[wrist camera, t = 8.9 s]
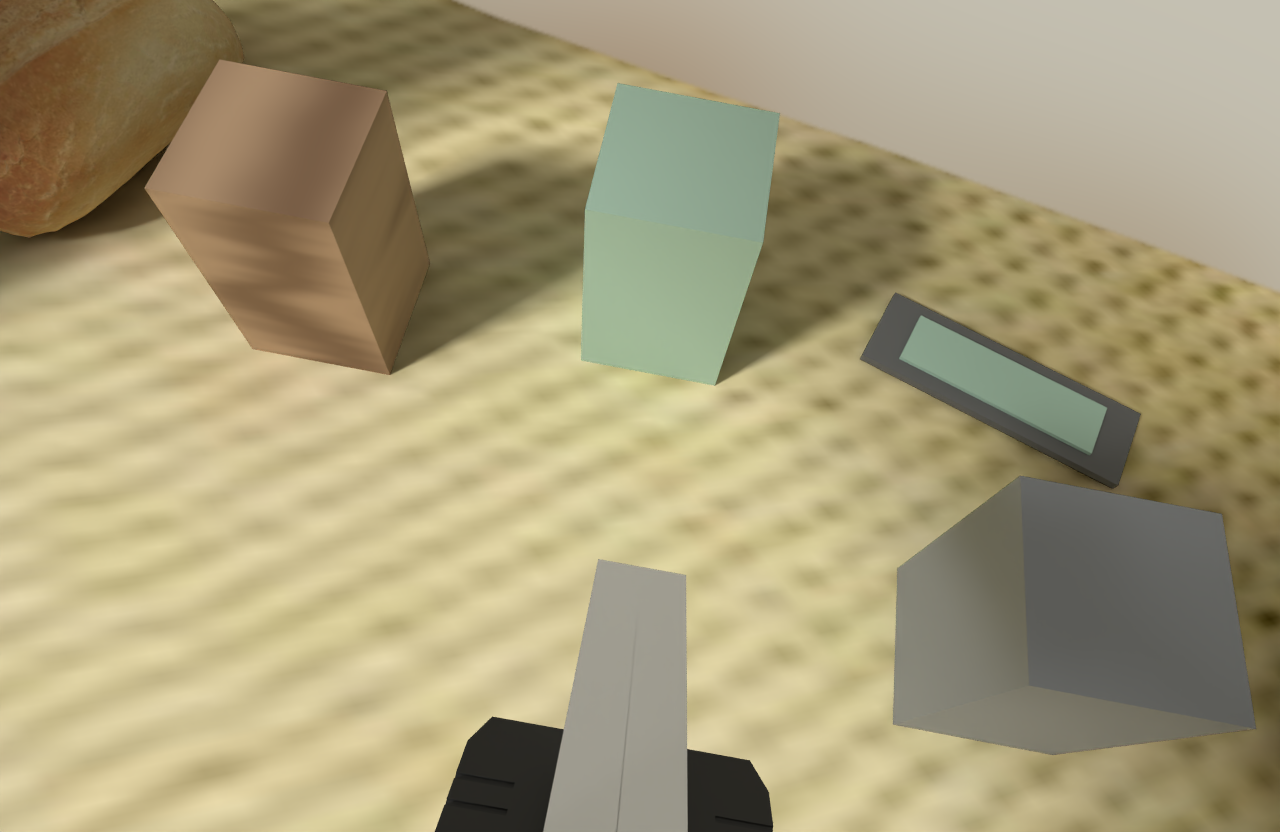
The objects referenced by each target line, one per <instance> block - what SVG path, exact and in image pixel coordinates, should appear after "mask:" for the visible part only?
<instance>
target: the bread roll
mask: <svg viewBox="0 0 1280 832" xmlns="http://www.w3.org/2000/svg"><path fill="white" fill-rule="evenodd" d="M219 59H220V60H225V61H230V62H236V63H241V64H242V63H243V60H244V55H243V51H242V46H241V43H240V41H239V39H238V36H237V34H236V31H235V29H234V27H233V25H232V23H231V21H230V19H229V18H228V17H227V16H226V14H225V13H224V12H223V11H222V10H221V9H220V7H219V6H218V5H217V4H216V3H215V2H214V1H213V0H0V231H3V232H6V233H9V234H13V235H19V236H25V237H29V238H30V237H32V236H35V235H38V234H42V233H45V232H50V231H58V230H59V229H61V228H63V227H64V226H66V225H68V224H70V223H72V222H74V221H76V220H78V219H80V218H82V217H84V216H85V215H87V214H88V213H89V212H91V211H92V210H93V209H94V208H96V207H97V206H98V205H99V204H101V203H102V202H103V201H104V200H106V199H107V198H108V197H109V196H111V195H112V194H113V193H114V192H115V191H116V190H117V189H119V188H120V187H121V186H122V185H123V184H125V183H126V182H127V181H128V180H129V179H130V178H132V177H133V176H134V175H135V174H136V173H137V172H138V171H139V170H140V169H141V168H143V167H144V166H145V165H146V164H147V163H148V162H149V161H150V160H151V159H152V158H153V157H154V156H156V155H157V154H158V153H159V152H160V151H162V150H163V149H164V148H165V147H166V146H167V145H168V144H169V143H171V142H172V140H173V138H174V136H175V135H176V133H177V131H178V130H179V128H180V126H181V124H182V123H183V121H184V119H185V118H186V116H187V114H188V112H189V111H190V109H191V107H192V106H193V104H194V102H195V100H196V99H197V97H198V95H199V94H200V92H201V90H202V89H203V87H204V85H205V83H206V82H207V80H208V78H209V77H210V75H211V73H212V71H213V70H214V68H215V66H216V65H217V63H218V61H219Z"/></svg>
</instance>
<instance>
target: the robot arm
mask: <svg viewBox="0 0 1280 832" xmlns="http://www.w3.org/2000/svg"><path fill="white" fill-rule="evenodd" d="M435 832H773V821H772V814H771V806H770V798H769V792H768V790H767V788H766V787H765V785H764V783H763V782H762V780H761V778H760V777H759V775H758V773H757V772H756V770H755V768H754V767H753V765H752V763H751V762H750V760H745V759H739V758H733V757H728V756H722V755H717V754H711V753H706V752H700V751H695V750H689V749H687V660H686V575H683V574H677V573H672V572H666V571H661V570H655V569H650V568H644V567H639V566H633V565H628V564H622V563H617V562H611V561H606V560H600V559H598V564H597V569H596V574H595V579H594V583H593V588H592V593H591V598H590V603H589V608H588V613H587V618H586V623H585V628H584V633H583V638H582V643H581V648H580V653H579V657H578V662H577V667H576V672H575V677H574V682H573V687H572V692H571V697H570V702H569V707H568V712H567V717H566V722H565V727H564V729H558V728H552V727H547V726H541V725H536V724H530V723H525V722H519V721H514V720H508V719H502V718H497V717H492V718H491V719H489V720H488V721H487V722H486V723H485V724H484V725H483V726H482V727H481V728H480V729H479V730H478V731H477V732H476V733H475V734H474V735H473V736H472V737H471V738H470V739H469V740H468V741H467V744H466V747H465V749H464V752H463V755H462V758H461V760H460V763H459V766H458V769H457V772H456V776H455V778H454V780H453V783H452V786H451V788H450V791H449V794H448V797H447V801H446V804H445V805H444V808H443V811H442V813H441V816H440V819H439V822H438V824H437V827H436V830H435Z"/></svg>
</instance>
